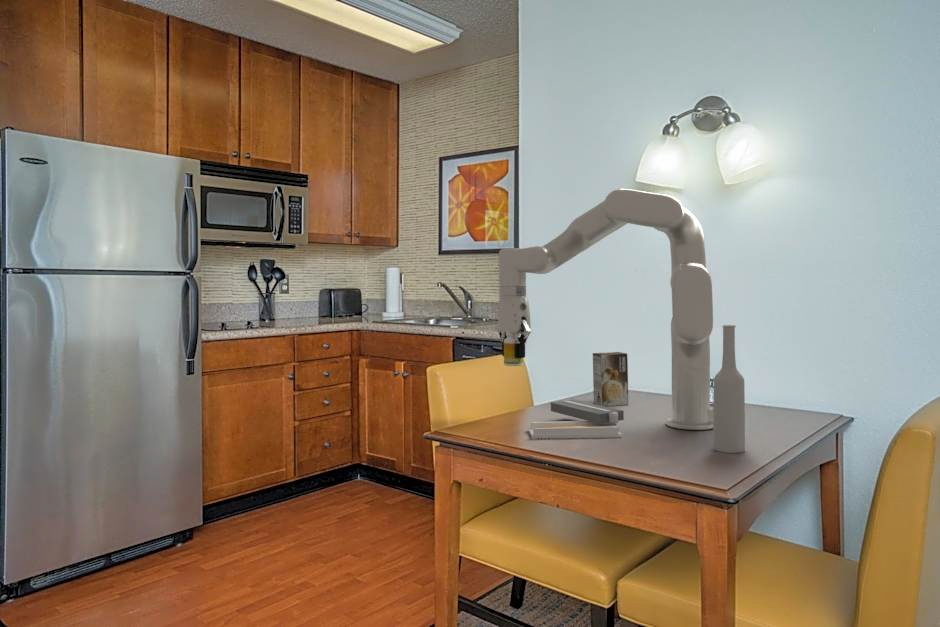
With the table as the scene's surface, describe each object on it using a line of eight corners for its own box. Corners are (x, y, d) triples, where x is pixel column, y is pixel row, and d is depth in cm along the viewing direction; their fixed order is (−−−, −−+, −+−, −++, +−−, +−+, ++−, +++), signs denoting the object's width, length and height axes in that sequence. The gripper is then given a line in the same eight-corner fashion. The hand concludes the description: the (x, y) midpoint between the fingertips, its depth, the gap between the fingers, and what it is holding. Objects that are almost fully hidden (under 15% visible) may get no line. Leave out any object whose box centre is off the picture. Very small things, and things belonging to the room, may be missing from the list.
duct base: (613, 429, 169) (613, 419, 169) (621, 437, 160) (621, 427, 160) (528, 430, 169) (528, 421, 169) (531, 439, 160) (531, 429, 160)
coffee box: (619, 401, 208) (619, 351, 207) (629, 405, 201) (628, 353, 201) (592, 403, 205) (592, 352, 205) (601, 407, 199) (601, 354, 199)
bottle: (732, 444, 151) (732, 324, 149) (751, 451, 144) (751, 325, 143) (707, 447, 149) (707, 325, 148) (725, 454, 143) (725, 326, 141)
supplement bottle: (522, 366, 180) (521, 331, 180) (502, 366, 181) (502, 331, 181) (524, 364, 185) (523, 330, 185) (505, 363, 186) (504, 330, 186)
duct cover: (628, 421, 165) (628, 410, 165) (604, 424, 161) (604, 414, 161) (573, 407, 184) (573, 398, 184) (550, 411, 180) (550, 401, 180)
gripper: (542, 292, 177) (542, 358, 178) (506, 292, 192) (507, 353, 193) (519, 292, 173) (520, 360, 174) (484, 292, 188) (485, 355, 189)
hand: (513, 356), depth 183 cm, fingers closed on supplement bottle, 5 cm apart
